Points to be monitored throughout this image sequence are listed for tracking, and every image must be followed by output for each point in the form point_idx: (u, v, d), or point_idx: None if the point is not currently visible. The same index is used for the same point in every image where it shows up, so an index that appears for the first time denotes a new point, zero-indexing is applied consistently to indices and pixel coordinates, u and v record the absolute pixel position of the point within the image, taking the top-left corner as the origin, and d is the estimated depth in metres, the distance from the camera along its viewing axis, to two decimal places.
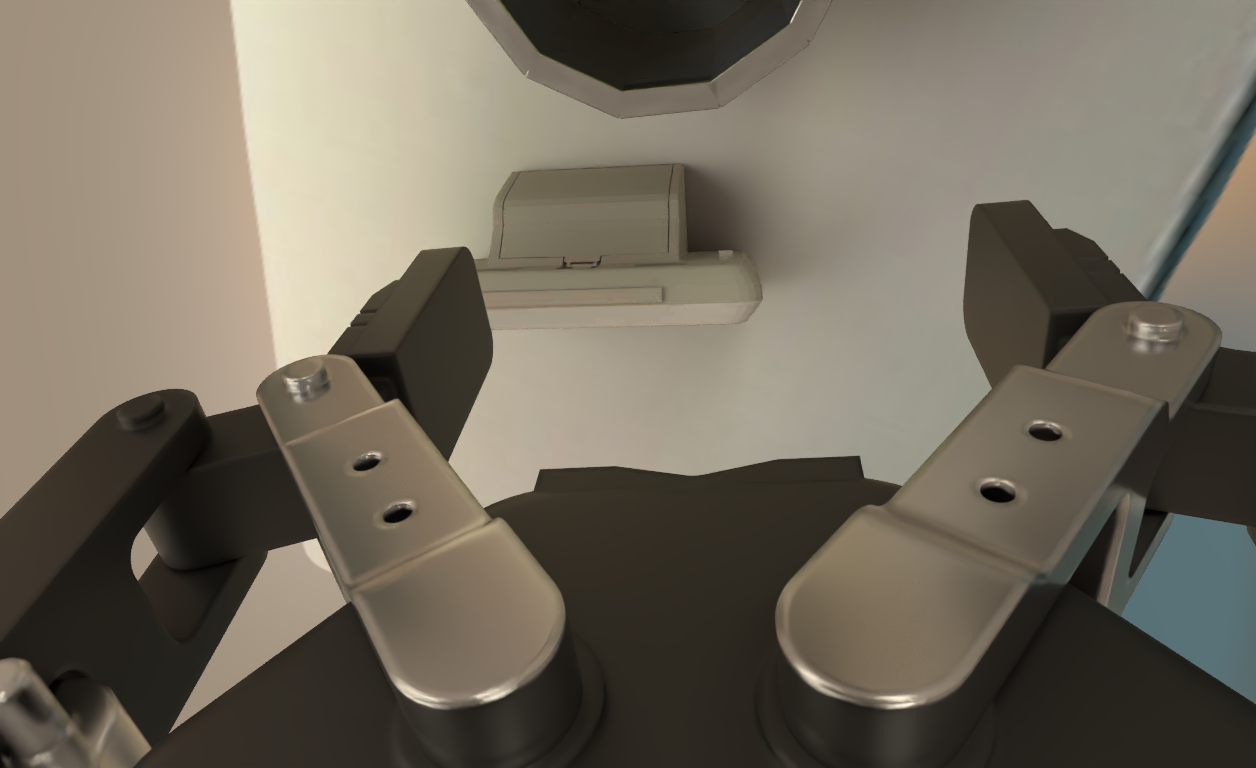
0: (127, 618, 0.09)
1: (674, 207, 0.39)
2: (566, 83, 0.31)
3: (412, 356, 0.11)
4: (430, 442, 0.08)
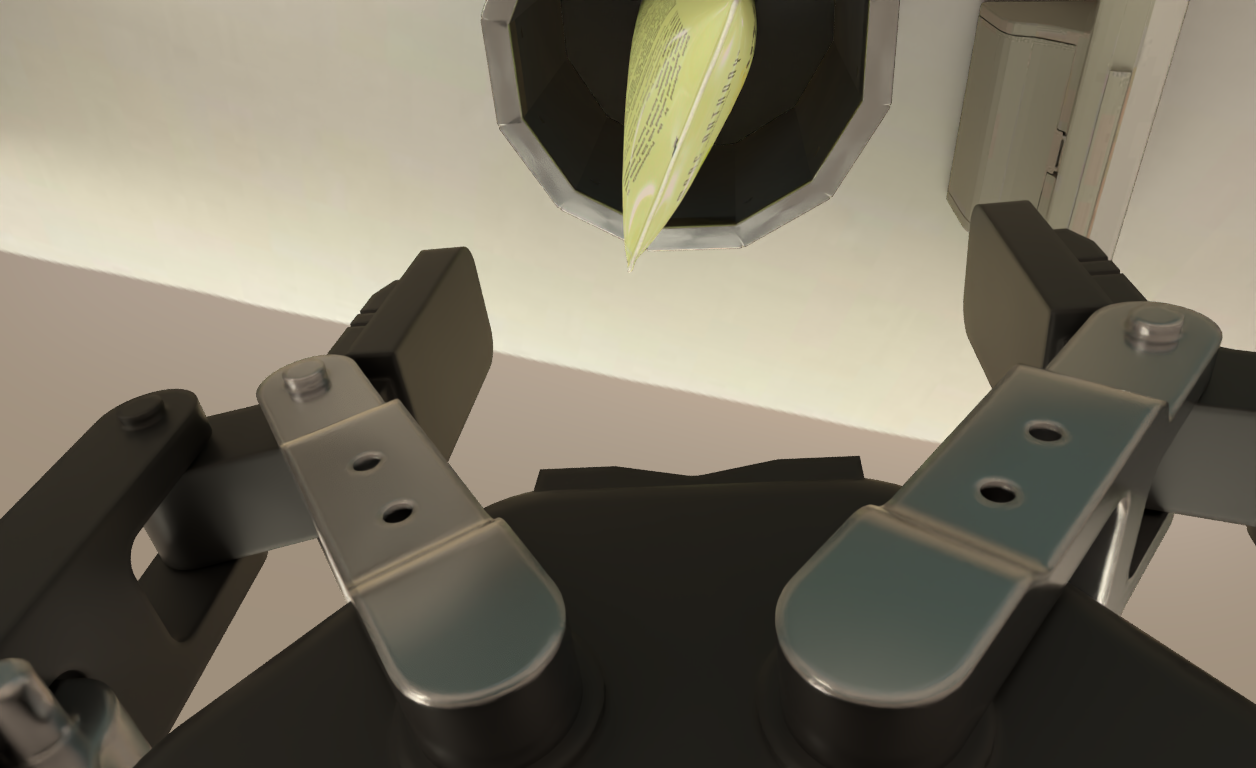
0: (127, 618, 0.09)
1: (1023, 28, 0.33)
2: (844, 158, 0.31)
3: (412, 356, 0.11)
4: (430, 442, 0.08)
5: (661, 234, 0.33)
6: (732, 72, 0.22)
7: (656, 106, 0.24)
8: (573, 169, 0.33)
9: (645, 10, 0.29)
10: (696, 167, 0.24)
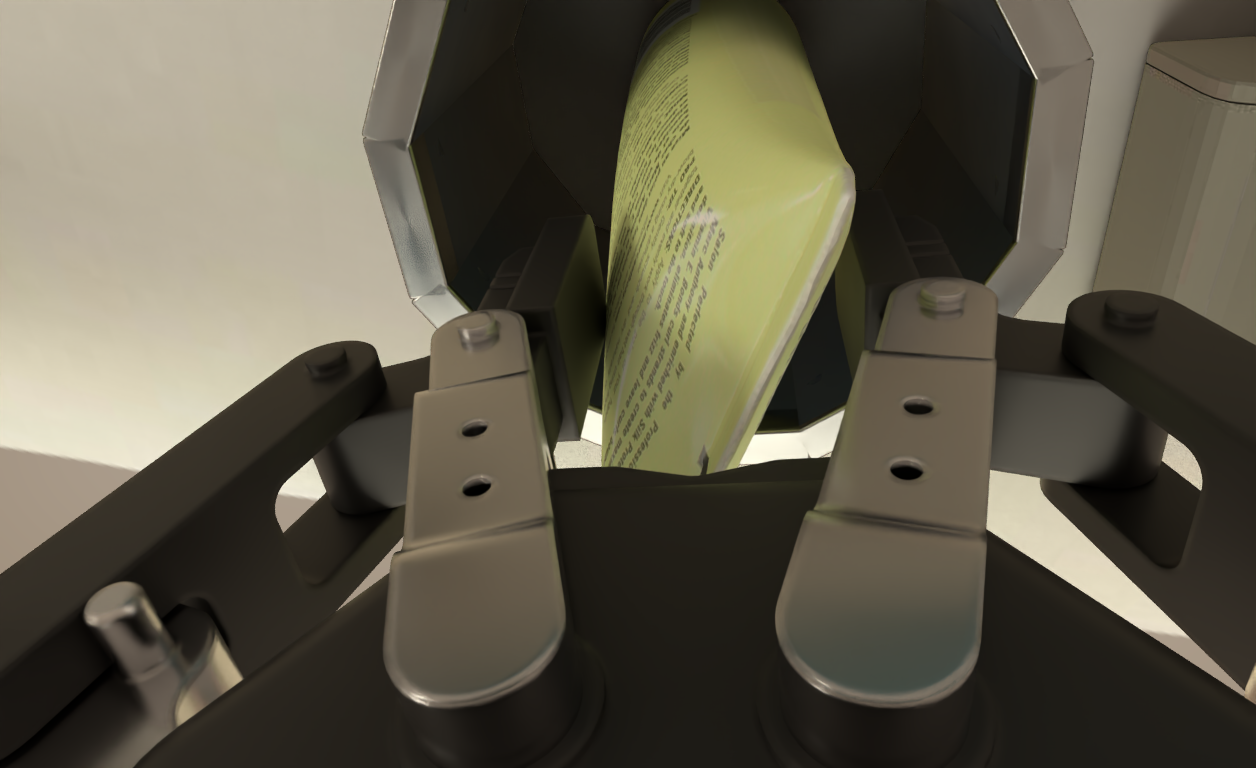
0: (262, 557, 0.09)
1: (1251, 92, 0.20)
2: None
3: (563, 313, 0.12)
4: (535, 422, 0.08)
5: None
6: (819, 297, 0.10)
7: (657, 348, 0.12)
8: None
9: (636, 108, 0.17)
10: None
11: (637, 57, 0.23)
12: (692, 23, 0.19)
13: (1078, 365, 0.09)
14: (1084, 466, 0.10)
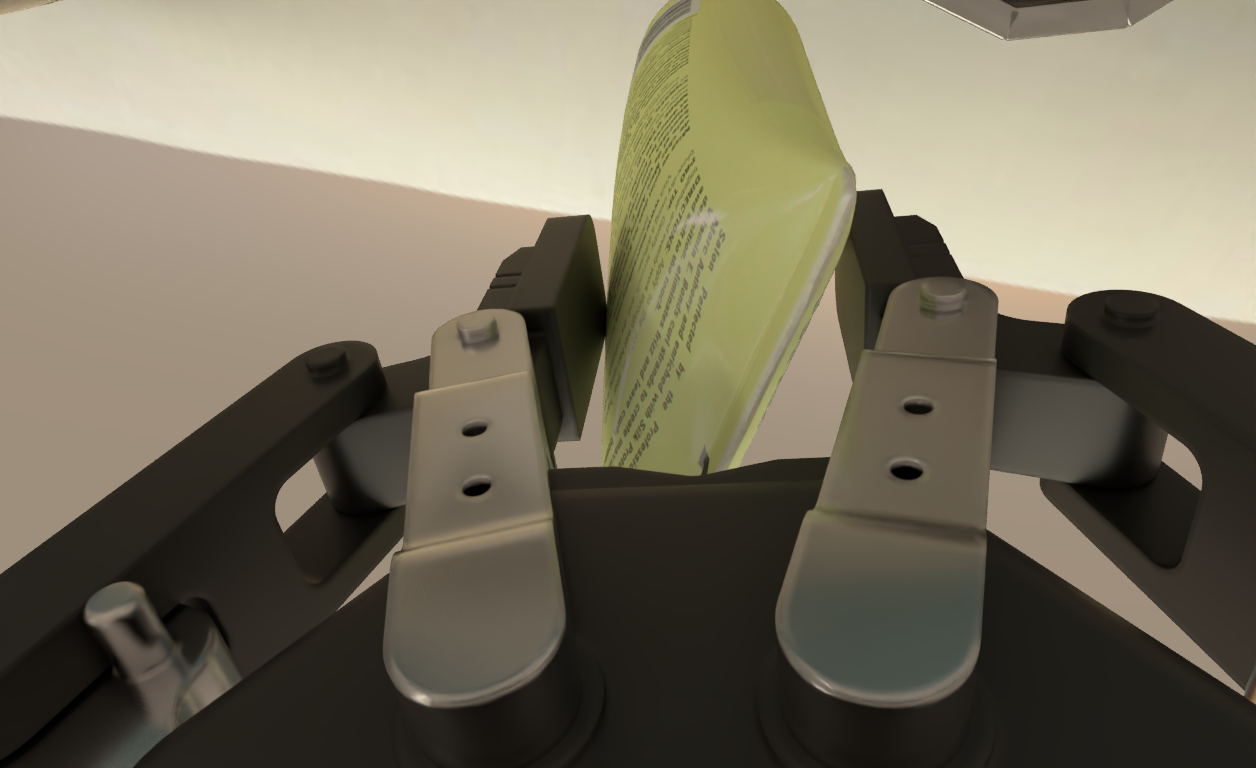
0: (261, 557, 0.09)
1: None
2: None
3: (563, 313, 0.12)
4: (535, 422, 0.08)
5: (1028, 15, 0.27)
6: (820, 297, 0.10)
7: (658, 349, 0.12)
8: None
9: (636, 108, 0.17)
10: None
11: (637, 57, 0.23)
12: (692, 23, 0.19)
13: (1078, 365, 0.09)
14: (1084, 466, 0.10)
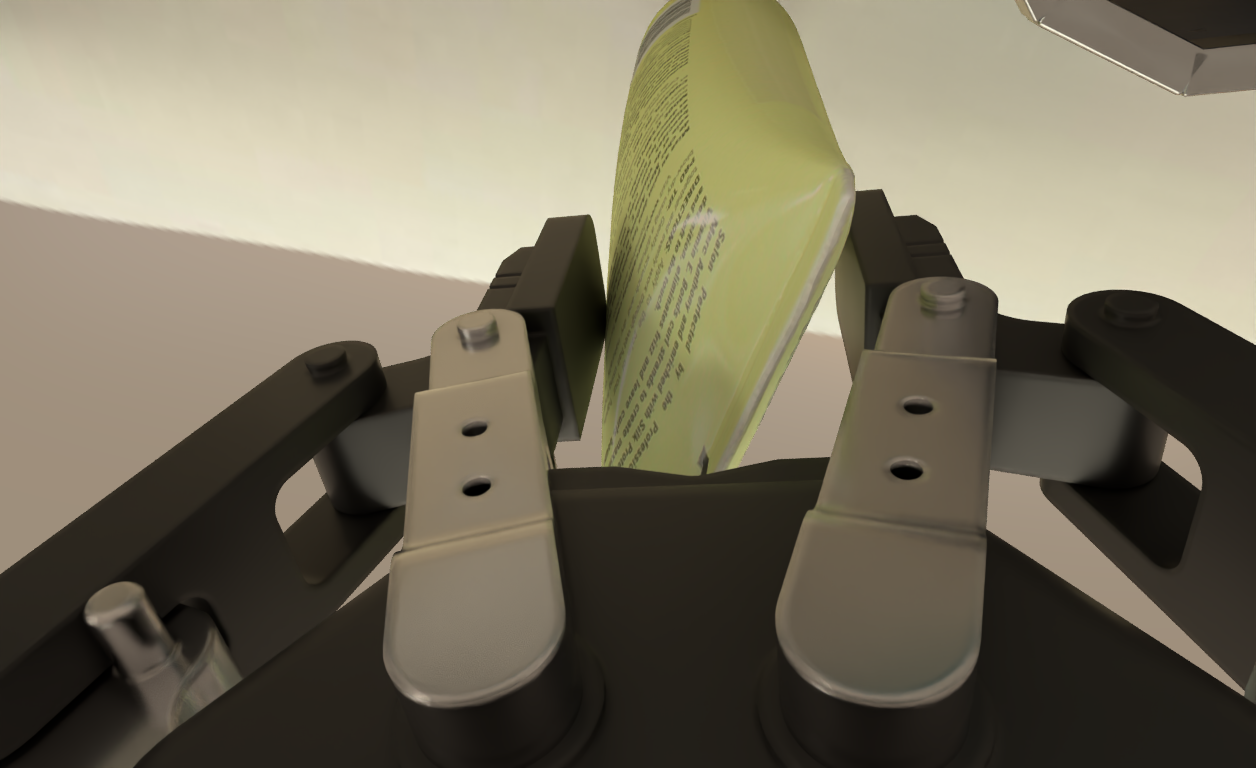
0: (262, 557, 0.09)
1: None
2: None
3: (563, 313, 0.12)
4: (536, 422, 0.08)
5: (1221, 61, 0.18)
6: (819, 297, 0.10)
7: (657, 349, 0.12)
8: None
9: (636, 109, 0.17)
10: None
11: (637, 57, 0.23)
12: (692, 23, 0.19)
13: (1078, 365, 0.09)
14: (1084, 466, 0.10)
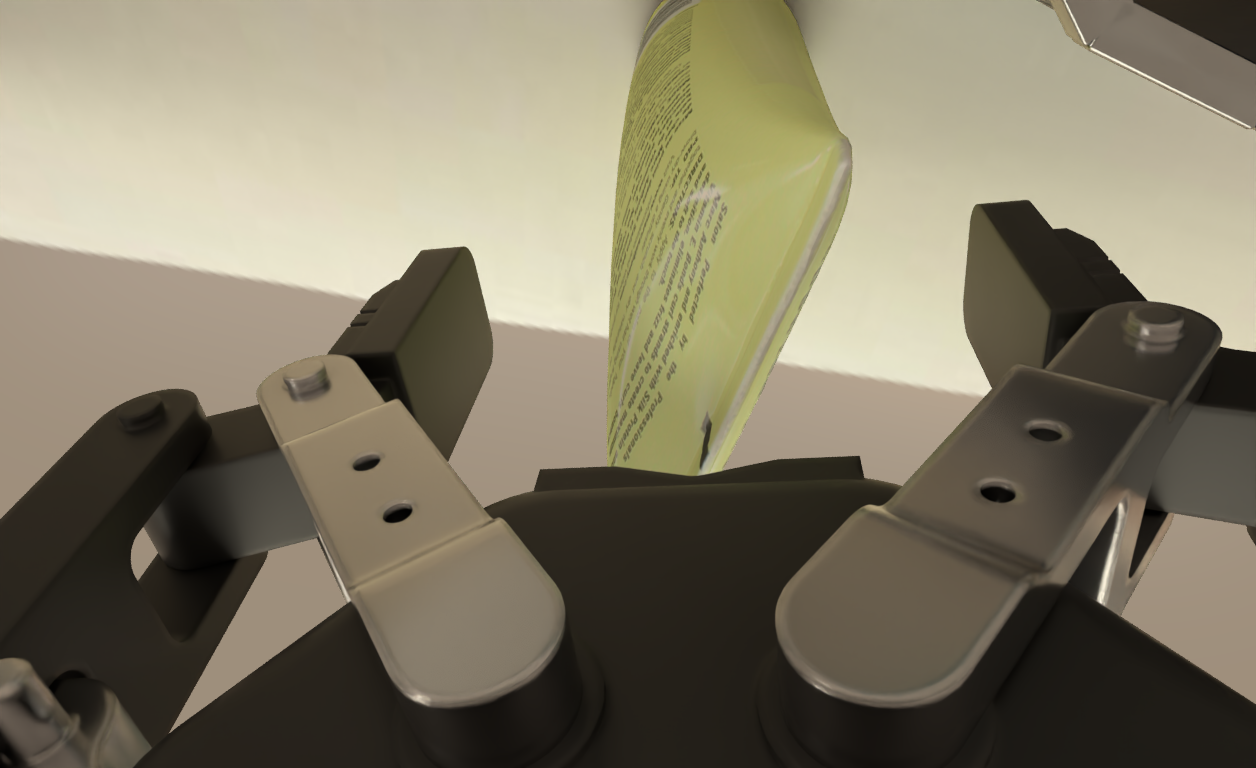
0: (127, 618, 0.09)
1: None
2: None
3: (412, 356, 0.11)
4: (430, 442, 0.08)
5: None
6: (818, 269, 0.11)
7: (662, 322, 0.12)
8: None
9: (639, 95, 0.18)
10: None
11: (639, 48, 0.24)
12: (693, 13, 0.20)
13: None
14: None
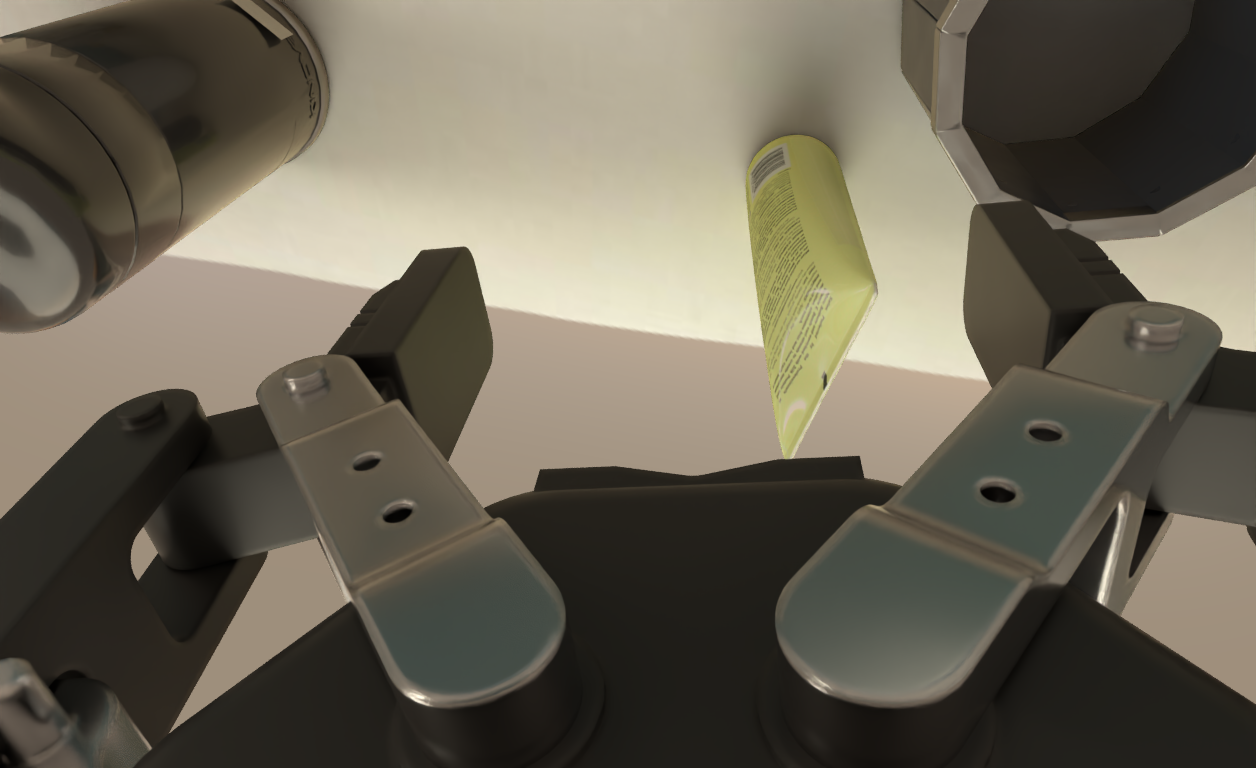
0: (127, 618, 0.09)
1: None
2: None
3: (412, 356, 0.11)
4: (430, 442, 0.08)
5: (1080, 227, 0.34)
6: None
7: (801, 337, 0.31)
8: None
9: (768, 225, 0.36)
10: None
11: (751, 180, 0.42)
12: (790, 176, 0.38)
13: None
14: None
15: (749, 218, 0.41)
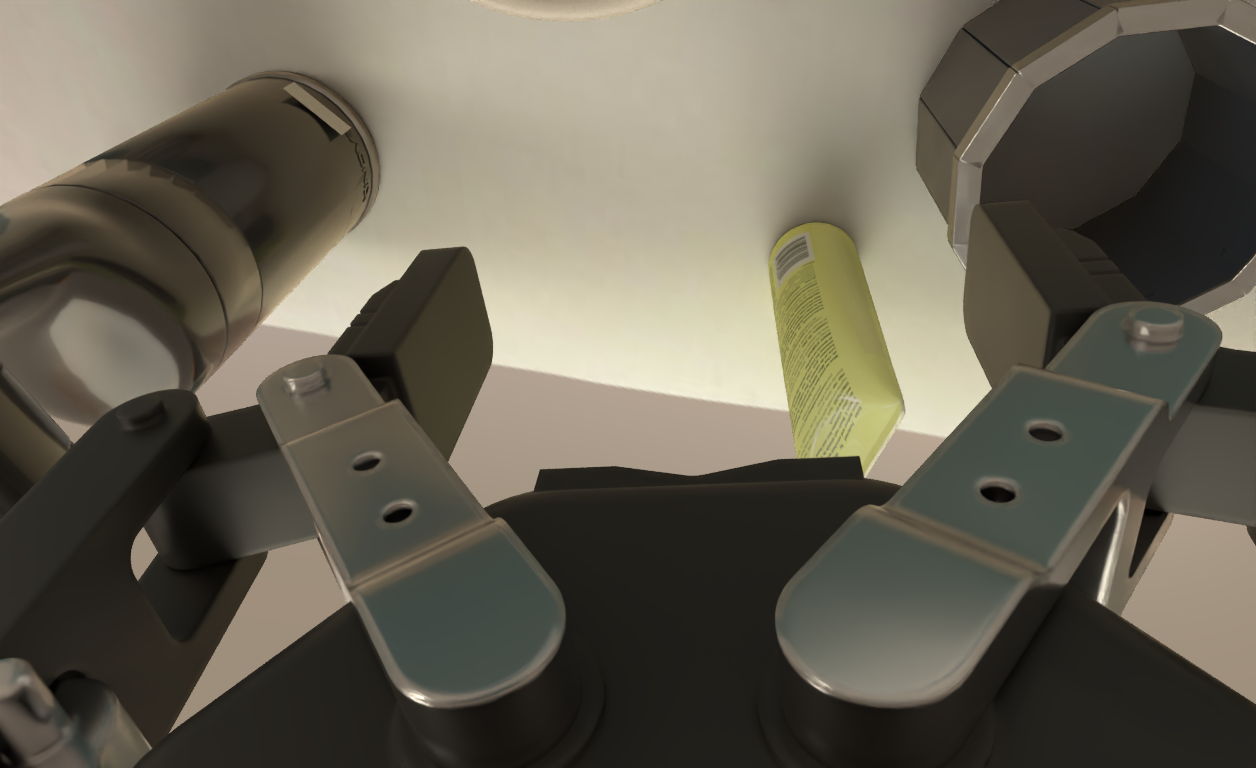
0: (127, 618, 0.09)
1: None
2: None
3: (412, 356, 0.11)
4: (430, 442, 0.08)
5: None
6: None
7: (831, 437, 0.34)
8: None
9: (796, 319, 0.40)
10: None
11: (775, 266, 0.45)
12: (814, 270, 0.41)
13: None
14: None
15: (775, 304, 0.44)
